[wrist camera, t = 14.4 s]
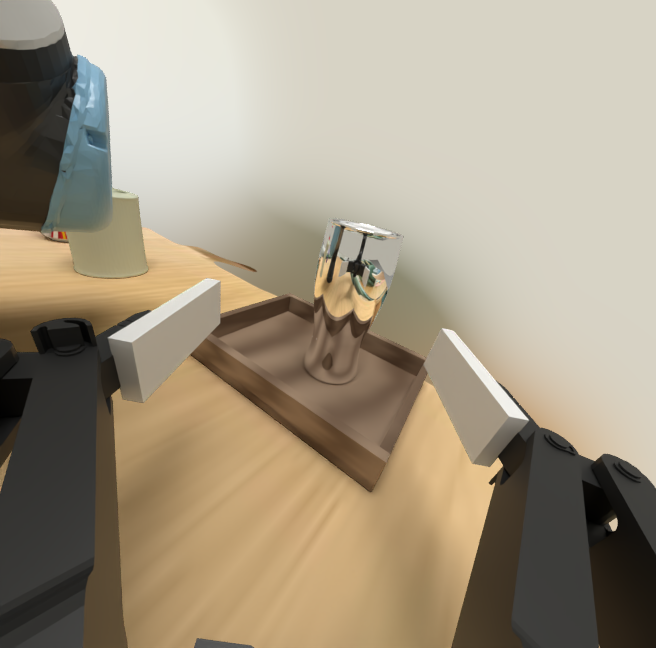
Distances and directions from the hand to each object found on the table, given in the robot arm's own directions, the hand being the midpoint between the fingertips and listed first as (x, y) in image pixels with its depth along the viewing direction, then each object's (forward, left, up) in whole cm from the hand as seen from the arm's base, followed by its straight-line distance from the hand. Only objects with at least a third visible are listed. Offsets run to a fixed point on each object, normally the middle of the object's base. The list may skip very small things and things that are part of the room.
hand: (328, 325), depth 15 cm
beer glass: (-3, +9, -10) cm, 14 cm away
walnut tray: (-5, +8, -11) cm, 15 cm away
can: (-43, +4, -11) cm, 44 cm away
